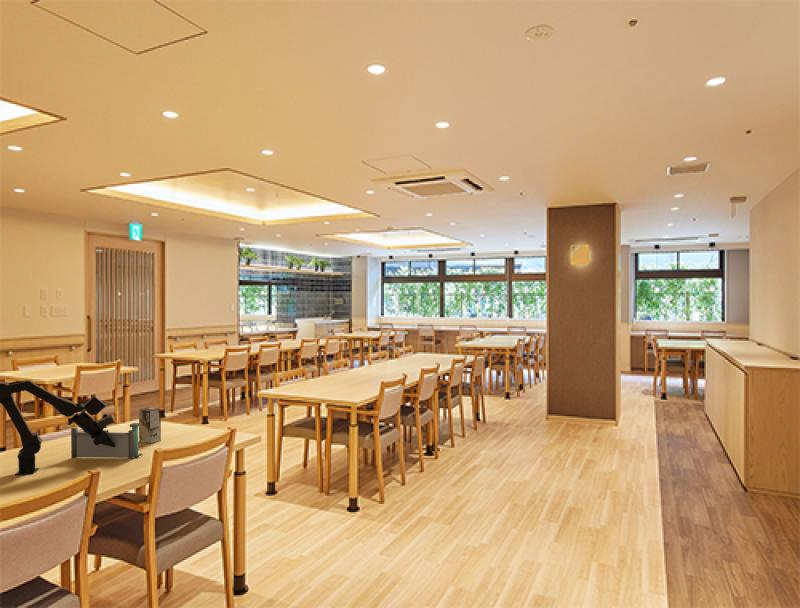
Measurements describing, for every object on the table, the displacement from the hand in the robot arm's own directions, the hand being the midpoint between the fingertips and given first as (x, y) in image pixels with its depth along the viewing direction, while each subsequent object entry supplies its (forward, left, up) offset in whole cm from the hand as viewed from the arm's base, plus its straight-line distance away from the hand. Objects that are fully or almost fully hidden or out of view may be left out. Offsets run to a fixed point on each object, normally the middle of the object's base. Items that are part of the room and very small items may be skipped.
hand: (114, 446), depth 236 cm
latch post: (+2, -8, -6) cm, 10 cm away
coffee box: (+29, -9, -6) cm, 31 cm away
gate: (+4, +5, -5) cm, 9 cm away
